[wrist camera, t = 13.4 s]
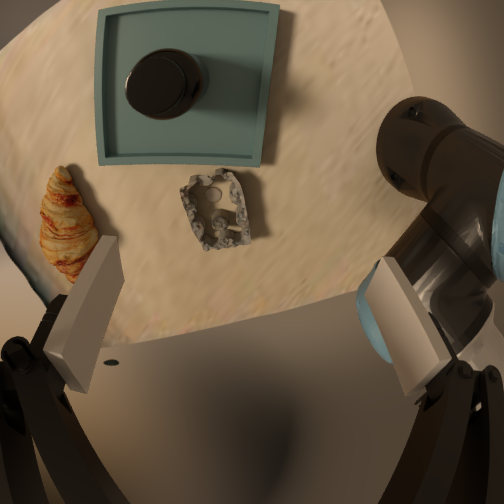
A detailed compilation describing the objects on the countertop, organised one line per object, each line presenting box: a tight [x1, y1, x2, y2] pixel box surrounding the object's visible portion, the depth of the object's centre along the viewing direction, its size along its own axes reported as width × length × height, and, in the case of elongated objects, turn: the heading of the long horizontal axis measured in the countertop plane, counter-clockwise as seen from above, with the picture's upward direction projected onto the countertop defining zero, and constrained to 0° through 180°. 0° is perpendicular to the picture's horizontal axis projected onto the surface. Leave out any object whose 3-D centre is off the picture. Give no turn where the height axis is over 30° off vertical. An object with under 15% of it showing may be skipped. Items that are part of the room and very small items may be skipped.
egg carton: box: [180, 168, 251, 251], centre depth 37 cm, size 11×8×4 cm
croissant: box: [40, 166, 98, 284], centre depth 36 cm, size 21×10×8 cm, turn 172°
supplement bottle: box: [124, 48, 210, 120], centre depth 23 cm, size 7×7×12 cm
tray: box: [94, 0, 280, 168], centre depth 27 cm, size 20×20×2 cm
